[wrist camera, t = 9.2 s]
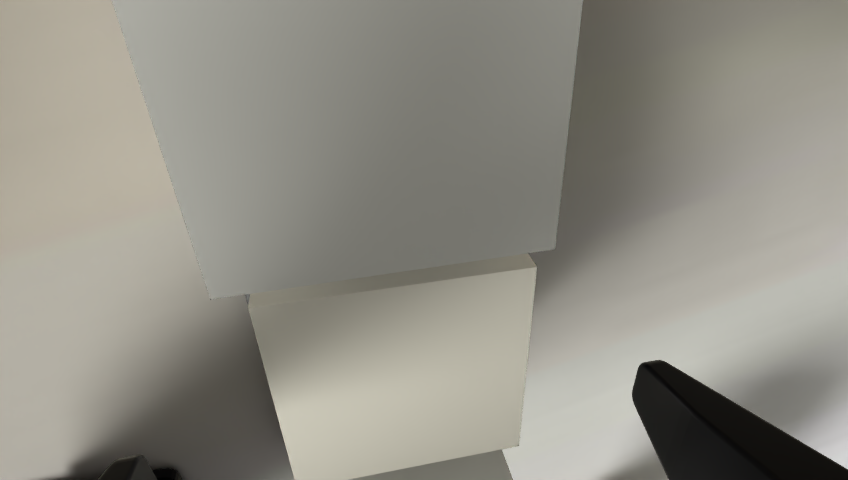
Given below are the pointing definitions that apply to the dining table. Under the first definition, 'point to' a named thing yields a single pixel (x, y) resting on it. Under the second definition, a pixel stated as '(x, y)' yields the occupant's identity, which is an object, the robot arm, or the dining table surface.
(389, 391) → the block
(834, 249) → the dining table surface
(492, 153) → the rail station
